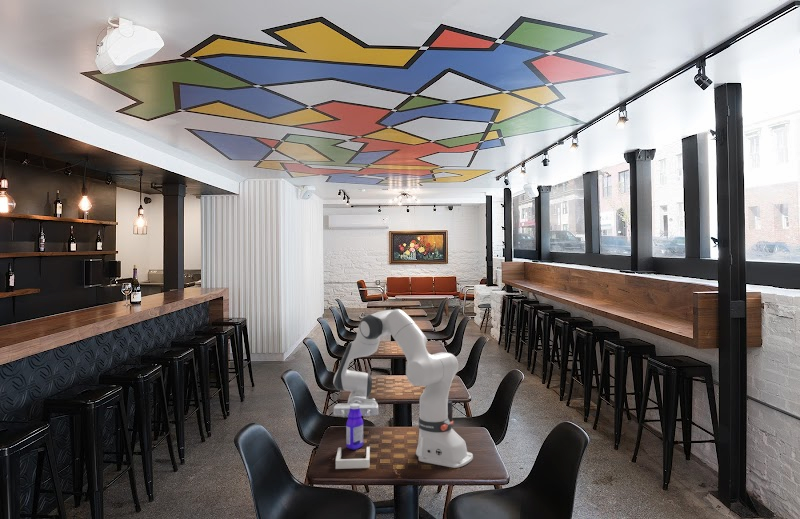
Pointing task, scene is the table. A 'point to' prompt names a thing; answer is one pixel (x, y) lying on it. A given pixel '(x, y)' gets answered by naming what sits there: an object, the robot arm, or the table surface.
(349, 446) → the bottle
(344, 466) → the bottle holder
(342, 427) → the table surface
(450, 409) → the camera lens
